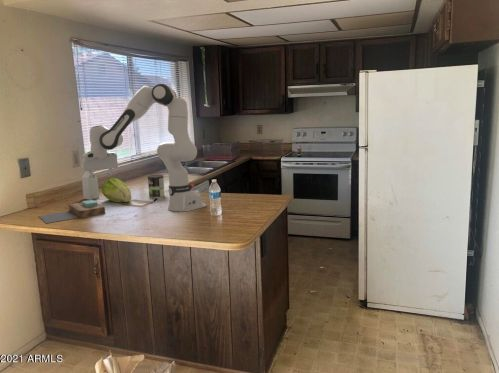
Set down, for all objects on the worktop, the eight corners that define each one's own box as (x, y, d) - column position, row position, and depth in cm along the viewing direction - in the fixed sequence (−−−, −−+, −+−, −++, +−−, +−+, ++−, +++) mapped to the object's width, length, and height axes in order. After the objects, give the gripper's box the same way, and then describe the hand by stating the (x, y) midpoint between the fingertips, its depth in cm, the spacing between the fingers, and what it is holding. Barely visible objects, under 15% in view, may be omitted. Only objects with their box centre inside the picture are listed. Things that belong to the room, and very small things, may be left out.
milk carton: (90, 200, 280) (87, 171, 276) (83, 199, 284) (80, 171, 280) (99, 197, 286) (96, 170, 282) (92, 196, 290) (90, 169, 286)
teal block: (92, 203, 252) (92, 199, 252) (97, 205, 245) (97, 202, 245) (82, 204, 249) (82, 201, 249) (86, 207, 242) (86, 203, 242)
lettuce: (139, 208, 274) (116, 215, 264) (121, 190, 289) (99, 197, 279) (138, 188, 266) (114, 196, 257) (120, 172, 281) (97, 178, 272)
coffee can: (153, 199, 277) (151, 177, 274) (146, 196, 285) (145, 176, 282) (167, 196, 283) (166, 175, 280) (160, 194, 291) (159, 174, 288)
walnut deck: (93, 207, 260) (92, 200, 259) (105, 213, 242) (104, 206, 241) (69, 211, 251) (68, 204, 251) (80, 218, 234) (79, 211, 233)
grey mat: (68, 211, 250) (68, 211, 250) (77, 218, 234) (77, 217, 234) (38, 216, 241) (38, 216, 241) (46, 223, 225) (46, 223, 225)
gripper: (115, 151, 255) (116, 174, 258) (79, 154, 243) (82, 178, 246) (118, 152, 250) (120, 175, 253) (82, 155, 238) (85, 179, 241)
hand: (101, 177), depth 249 cm, fingers open, 8 cm apart
